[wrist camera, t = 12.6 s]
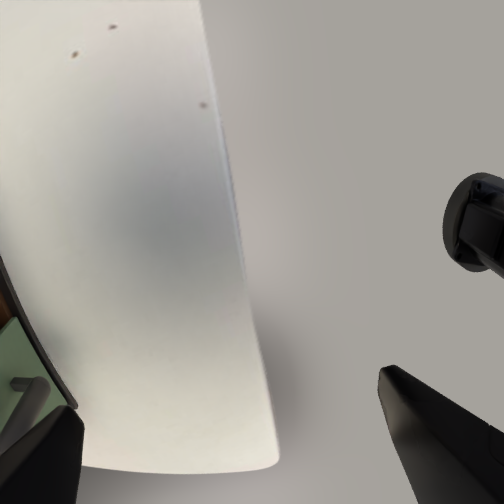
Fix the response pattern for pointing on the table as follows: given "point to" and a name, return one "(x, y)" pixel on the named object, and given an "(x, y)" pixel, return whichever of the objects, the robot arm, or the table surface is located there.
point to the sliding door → (22, 386)
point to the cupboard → (27, 330)
